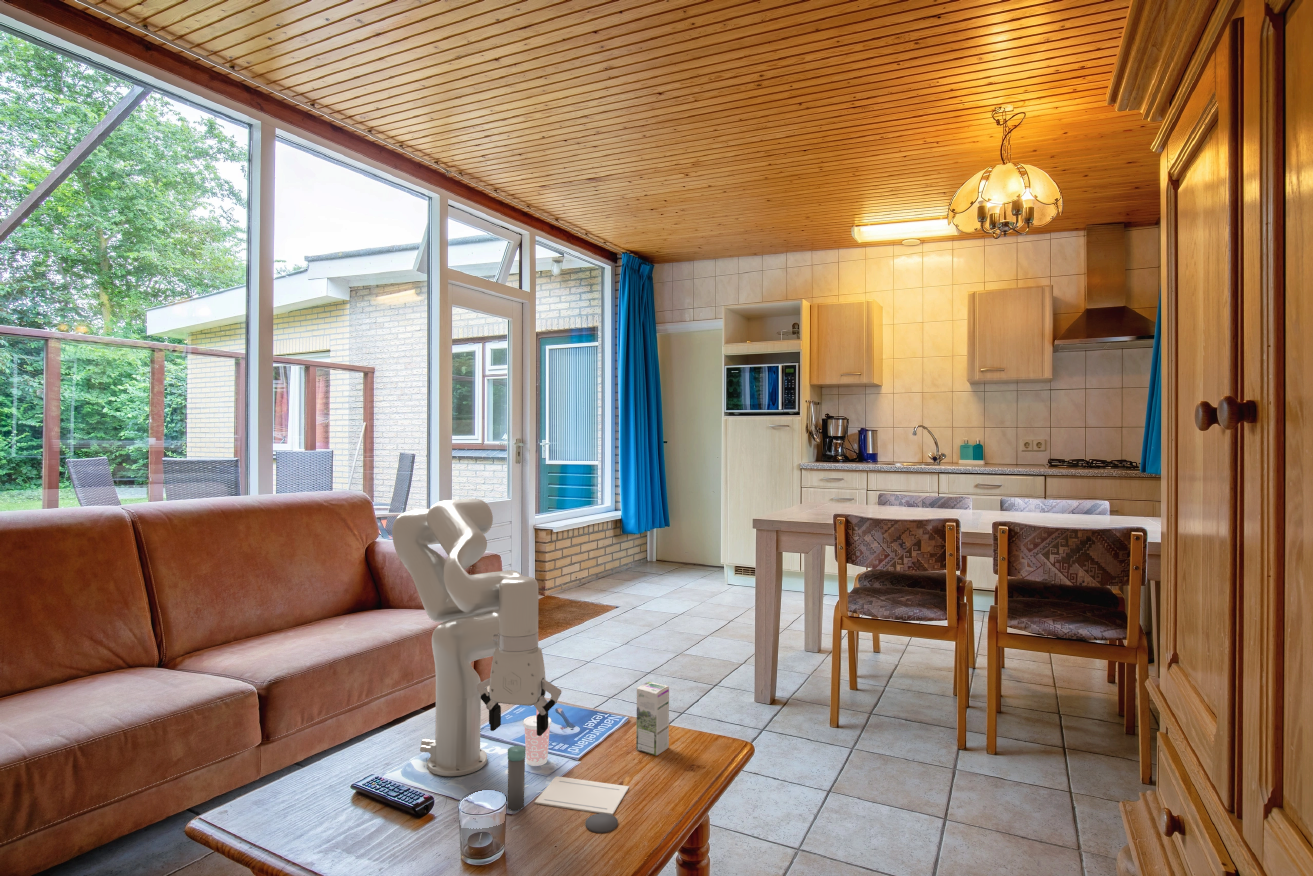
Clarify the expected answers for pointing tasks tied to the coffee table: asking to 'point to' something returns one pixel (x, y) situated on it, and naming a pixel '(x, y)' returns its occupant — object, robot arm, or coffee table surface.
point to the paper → (582, 795)
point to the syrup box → (652, 718)
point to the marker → (516, 777)
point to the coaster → (601, 823)
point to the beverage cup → (536, 742)
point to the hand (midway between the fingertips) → (518, 730)
